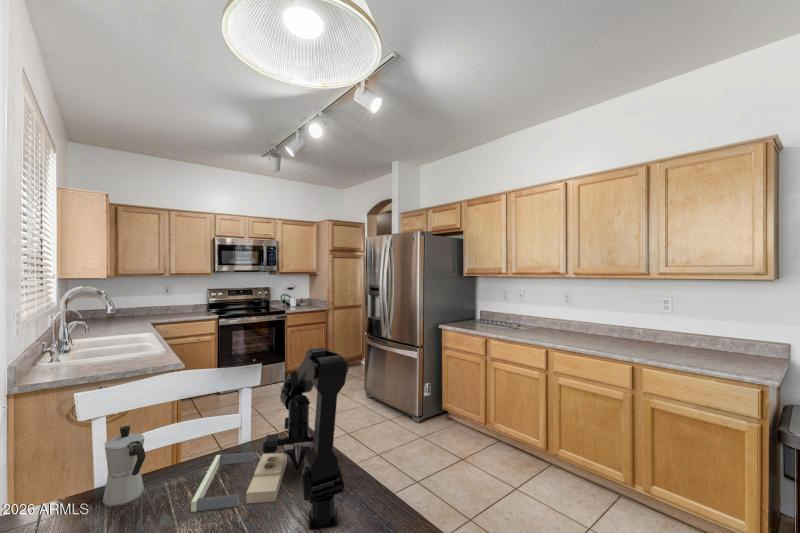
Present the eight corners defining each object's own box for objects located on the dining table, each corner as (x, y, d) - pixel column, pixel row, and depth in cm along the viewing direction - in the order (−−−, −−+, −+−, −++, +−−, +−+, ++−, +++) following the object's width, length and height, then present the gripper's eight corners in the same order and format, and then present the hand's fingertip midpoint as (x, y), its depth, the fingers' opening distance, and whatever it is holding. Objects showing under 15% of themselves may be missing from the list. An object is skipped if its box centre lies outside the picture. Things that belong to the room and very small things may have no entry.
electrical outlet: (246, 489, 94) (262, 453, 111) (246, 505, 94) (262, 466, 111) (275, 487, 95) (287, 452, 112) (275, 503, 95) (286, 465, 112)
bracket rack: (237, 506, 92) (237, 496, 92) (190, 512, 90) (191, 501, 90) (253, 459, 115) (253, 451, 115) (216, 463, 112) (216, 455, 112)
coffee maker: (91, 497, 95) (92, 428, 95) (129, 480, 103) (130, 416, 103) (121, 516, 88) (123, 441, 88) (160, 496, 96) (161, 427, 96)
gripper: (330, 404, 116) (329, 453, 116) (268, 408, 112) (267, 459, 112) (331, 418, 105) (330, 473, 105) (263, 423, 101) (262, 480, 101)
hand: (297, 470), depth 106 cm, fingers closed
